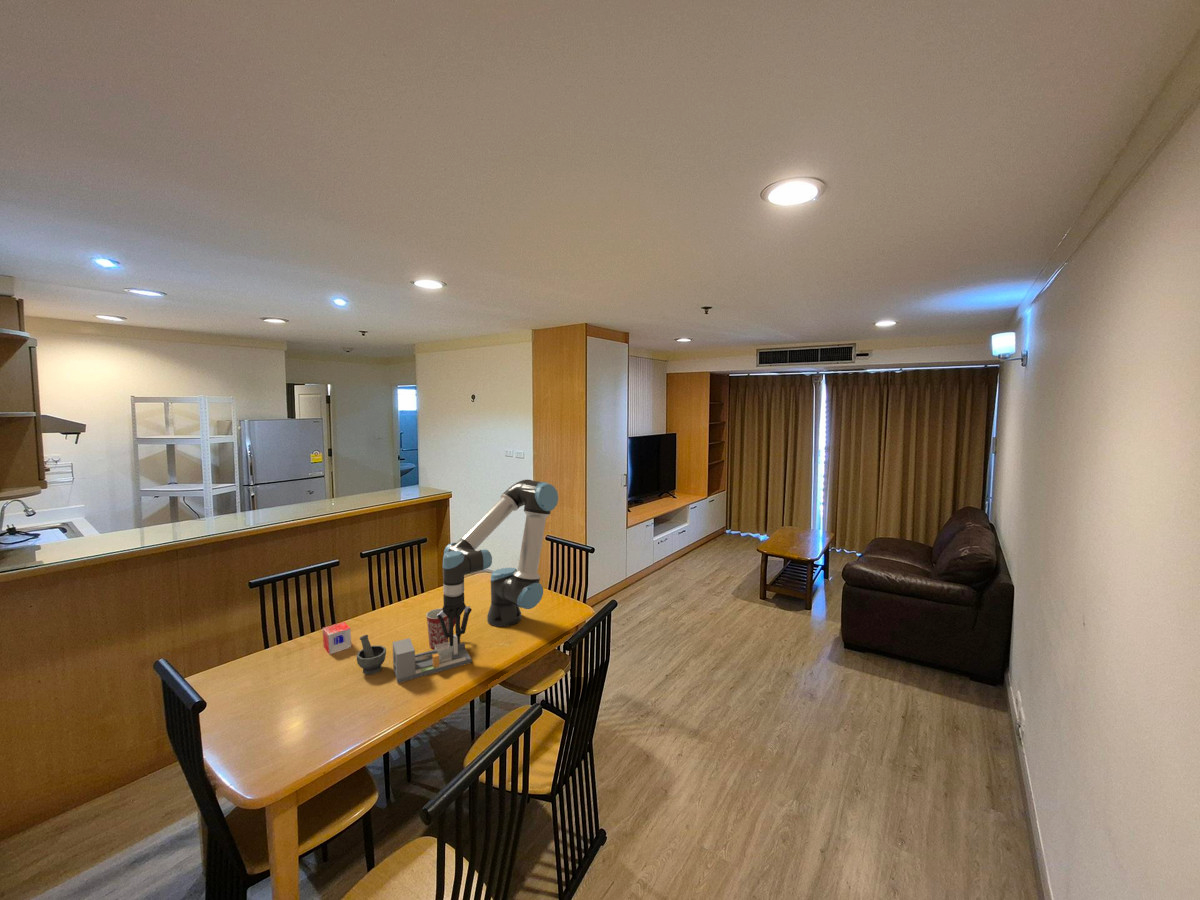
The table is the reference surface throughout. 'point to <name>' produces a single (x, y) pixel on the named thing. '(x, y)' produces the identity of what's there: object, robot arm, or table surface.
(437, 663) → the tangerine cube
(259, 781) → the table surface
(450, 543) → the robot arm
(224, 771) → the table surface
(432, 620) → the mug
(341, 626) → the toy block
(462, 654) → the bench
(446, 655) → the grey block with bar
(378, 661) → the mortar and pestle
